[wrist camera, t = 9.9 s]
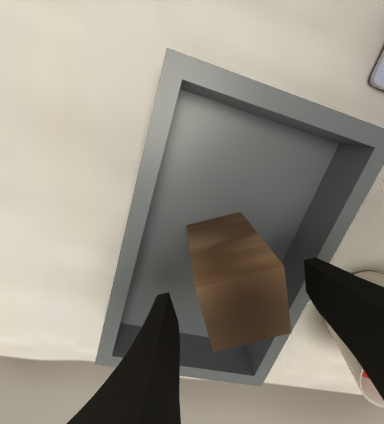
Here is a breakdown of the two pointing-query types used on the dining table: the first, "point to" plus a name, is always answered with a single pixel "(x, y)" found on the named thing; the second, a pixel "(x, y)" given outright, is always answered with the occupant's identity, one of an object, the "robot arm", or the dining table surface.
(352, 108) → the dining table surface
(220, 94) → the bin
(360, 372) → the candle
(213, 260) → the block
